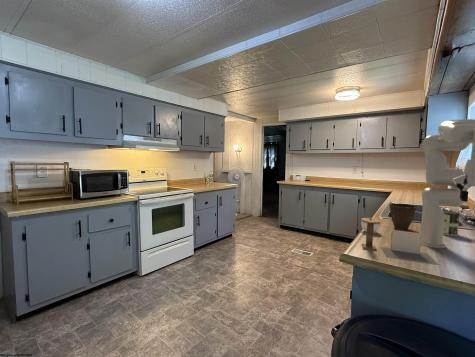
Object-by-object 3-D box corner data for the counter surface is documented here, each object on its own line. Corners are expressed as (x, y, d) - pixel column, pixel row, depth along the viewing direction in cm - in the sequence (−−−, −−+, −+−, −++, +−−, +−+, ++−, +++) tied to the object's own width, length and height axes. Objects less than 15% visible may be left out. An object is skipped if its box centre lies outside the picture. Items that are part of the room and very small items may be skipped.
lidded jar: (371, 235, 145) (372, 220, 144) (356, 230, 154) (357, 216, 154) (383, 233, 149) (384, 218, 148) (368, 228, 159) (369, 214, 158)
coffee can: (456, 233, 152) (458, 211, 151) (458, 237, 144) (460, 214, 143) (435, 230, 159) (437, 209, 157) (436, 233, 150) (438, 211, 149)
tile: (390, 249, 121) (391, 230, 120) (418, 253, 116) (420, 233, 116) (390, 250, 119) (392, 231, 118) (419, 254, 115) (421, 234, 114)
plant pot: (382, 226, 164) (384, 204, 163) (396, 224, 170) (397, 202, 169) (405, 232, 151) (407, 208, 149) (419, 230, 157) (421, 206, 156)
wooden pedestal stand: (361, 245, 126) (363, 220, 125) (374, 247, 124) (376, 221, 122) (363, 249, 120) (364, 223, 119) (376, 251, 118) (378, 224, 117)
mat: (380, 247, 123) (380, 247, 123) (427, 254, 116) (427, 253, 116) (386, 258, 110) (386, 257, 110) (439, 265, 103) (439, 265, 103)
